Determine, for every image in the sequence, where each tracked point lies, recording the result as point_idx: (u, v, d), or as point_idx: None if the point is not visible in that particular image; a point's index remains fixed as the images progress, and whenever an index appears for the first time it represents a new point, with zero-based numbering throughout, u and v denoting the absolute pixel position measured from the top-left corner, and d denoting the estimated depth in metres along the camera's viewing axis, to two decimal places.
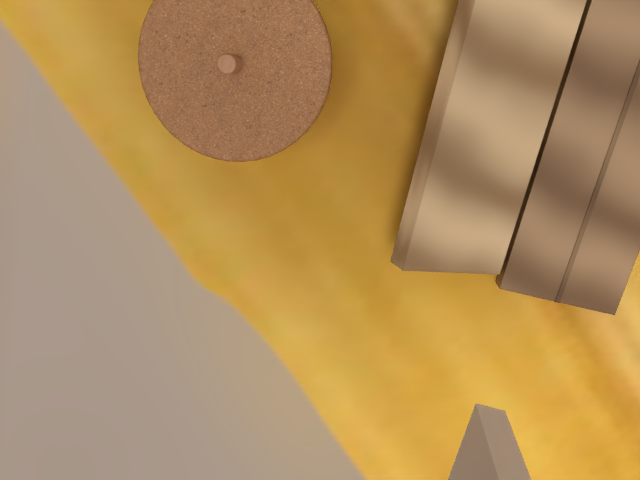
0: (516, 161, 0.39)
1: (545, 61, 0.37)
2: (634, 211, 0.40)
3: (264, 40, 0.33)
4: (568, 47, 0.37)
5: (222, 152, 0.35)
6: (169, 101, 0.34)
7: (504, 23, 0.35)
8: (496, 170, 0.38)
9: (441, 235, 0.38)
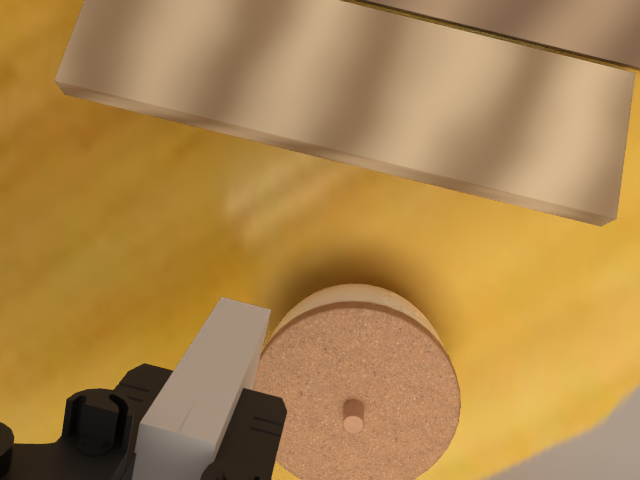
0: (484, 64, 0.31)
1: (365, 37, 0.31)
2: None
3: (330, 375, 0.30)
4: (350, 6, 0.31)
5: (448, 426, 0.31)
6: (390, 471, 0.32)
7: (321, 98, 0.30)
8: (493, 92, 0.31)
9: (572, 164, 0.30)
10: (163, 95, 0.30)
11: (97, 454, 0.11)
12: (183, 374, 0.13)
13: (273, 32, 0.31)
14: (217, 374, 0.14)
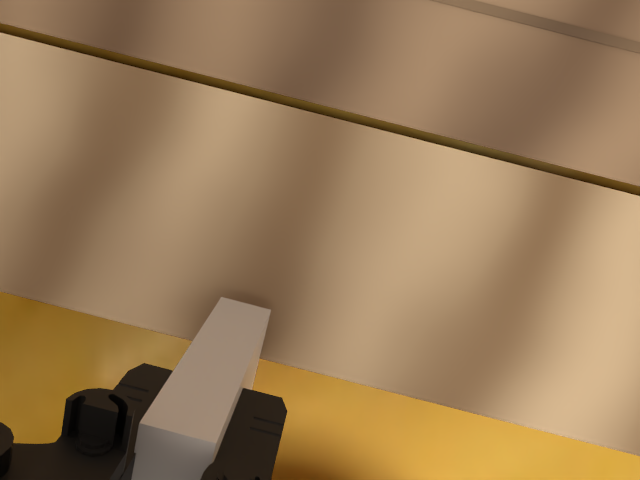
0: (475, 202, 0.20)
1: (286, 158, 0.20)
2: None
3: None
4: (265, 106, 0.20)
5: None
6: None
7: (211, 262, 0.19)
8: (489, 249, 0.19)
9: (614, 372, 0.19)
10: None
11: (96, 454, 0.11)
12: (183, 374, 0.13)
13: (140, 150, 0.19)
14: (217, 374, 0.14)
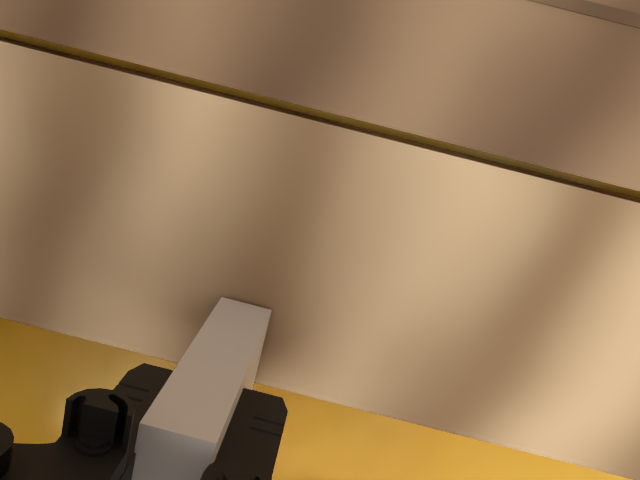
0: (487, 225, 0.17)
1: (267, 174, 0.17)
2: None
3: None
4: (240, 109, 0.16)
5: None
6: None
7: (193, 290, 0.18)
8: (497, 278, 0.17)
9: (617, 404, 0.18)
10: None
11: (97, 454, 0.11)
12: (183, 374, 0.13)
13: (103, 167, 0.17)
14: (217, 374, 0.14)
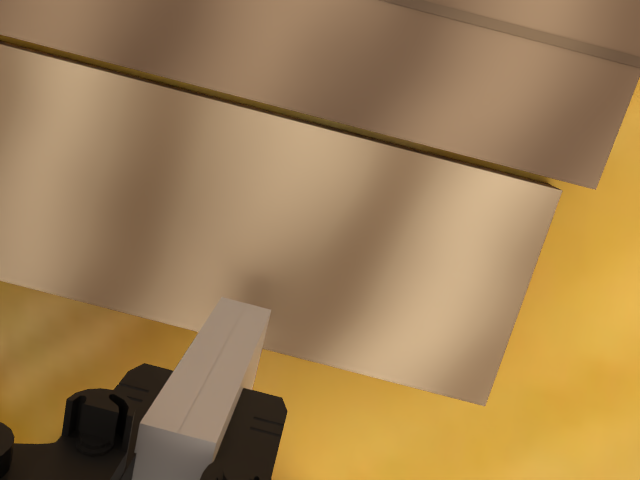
0: (318, 178, 0.20)
1: (136, 134, 0.20)
2: None
3: None
4: (111, 79, 0.20)
5: None
6: None
7: (77, 233, 0.21)
8: (330, 223, 0.20)
9: (435, 332, 0.21)
10: None
11: (97, 454, 0.11)
12: (183, 374, 0.13)
13: None
14: (217, 374, 0.14)
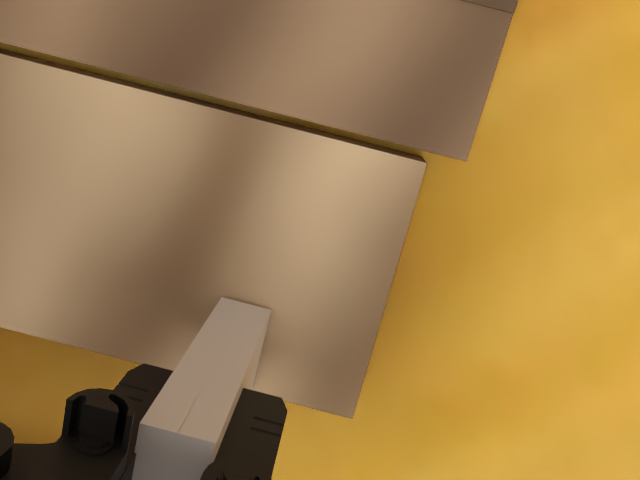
0: (141, 149, 0.17)
1: None
2: None
3: None
4: None
5: None
6: None
7: None
8: (158, 203, 0.17)
9: (289, 332, 0.18)
10: None
11: (97, 454, 0.11)
12: (183, 374, 0.13)
13: None
14: (217, 374, 0.14)
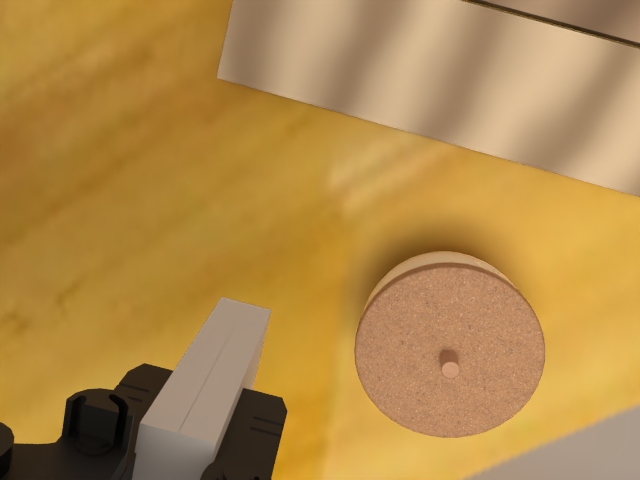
0: (572, 61, 0.36)
1: (468, 35, 0.36)
2: None
3: (430, 327, 0.34)
4: (458, 3, 0.36)
5: (533, 378, 0.35)
6: (476, 417, 0.36)
7: (425, 94, 0.37)
8: (575, 88, 0.36)
9: (632, 155, 0.36)
10: (299, 91, 0.38)
11: (97, 454, 0.11)
12: (183, 374, 0.13)
13: (388, 31, 0.36)
14: (217, 374, 0.14)
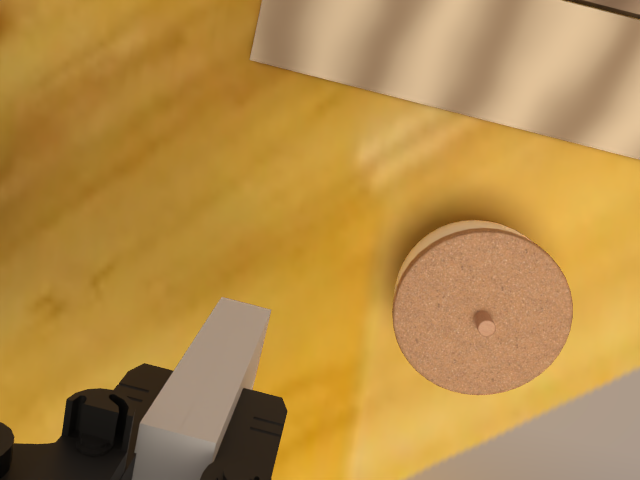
0: (588, 36, 0.38)
1: (490, 13, 0.38)
2: None
3: (464, 289, 0.36)
4: None
5: (561, 334, 0.37)
6: (509, 374, 0.38)
7: (450, 70, 0.39)
8: (592, 61, 0.38)
9: None
10: (330, 70, 0.39)
11: (97, 454, 0.11)
12: (183, 374, 0.13)
13: (415, 11, 0.38)
14: (217, 374, 0.14)
